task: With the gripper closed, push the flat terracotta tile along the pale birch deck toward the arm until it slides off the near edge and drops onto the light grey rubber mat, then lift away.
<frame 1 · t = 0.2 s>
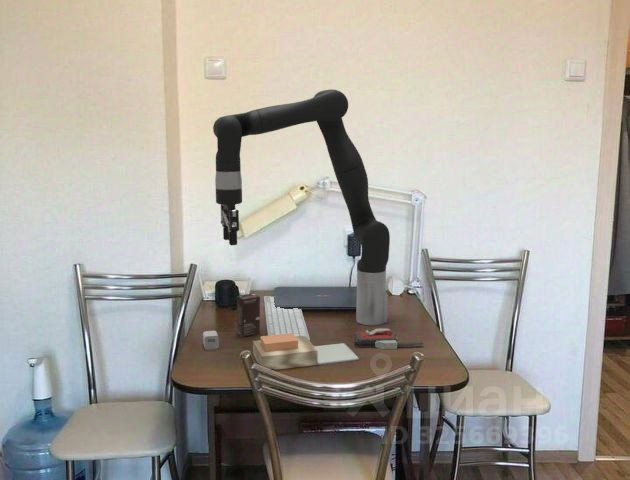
hand: (230, 242, 176), 29 cm above the table, fingers open, 8 cm apart
box: (248, 334, 184), on the table
mat: (331, 354, 168), on the table
deck: (284, 359, 164), on the table
usb wall charger: (210, 345, 175), on the table
tile: (279, 346, 163), point 4 cm above the table, touching deck
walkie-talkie: (386, 345, 176), on the table
keyboard: (284, 320, 198), on the table
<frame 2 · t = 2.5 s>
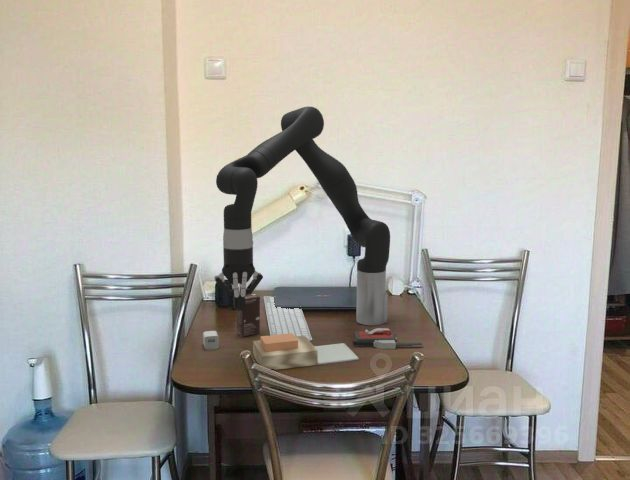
hand: (239, 309, 158), 15 cm above the table, fingers closed
nothing on the table moved.
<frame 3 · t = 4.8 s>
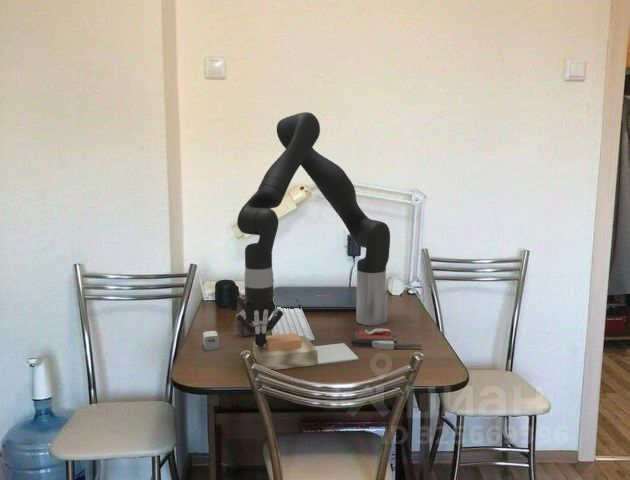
hand: (260, 345, 161), 5 cm above the table, fingers closed
tile: (282, 345, 163), point 4 cm above the table, touching gripper
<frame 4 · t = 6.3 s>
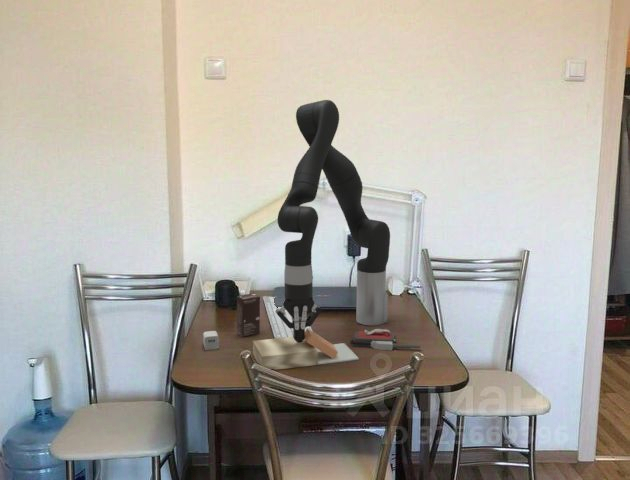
hand: (299, 341, 164), 5 cm above the table, fingers closed
tile: (317, 346, 165), point 3 cm above the table, tilted 36°, touching gripper, mat
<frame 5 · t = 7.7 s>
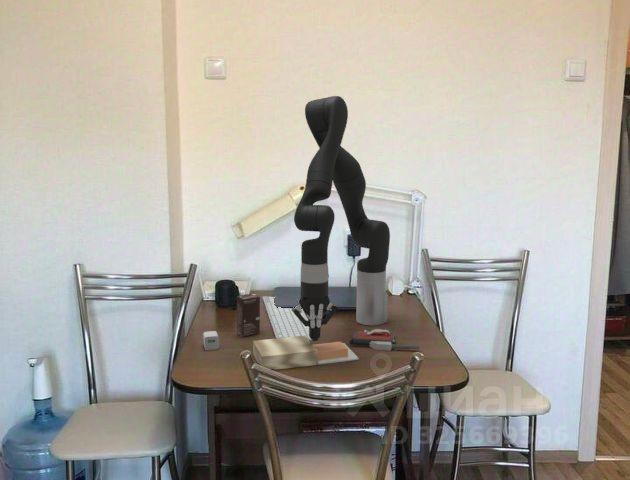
hand: (314, 339, 165), 5 cm above the table, fingers closed
tile: (328, 354, 166), resting on mat
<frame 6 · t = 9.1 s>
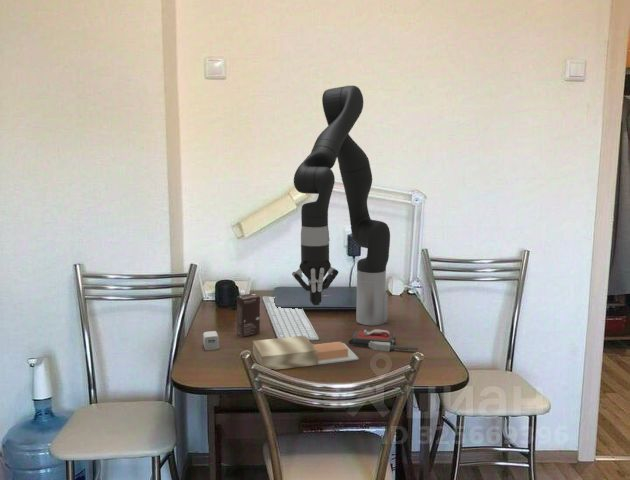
hand: (315, 304, 163), 15 cm above the table, fingers closed
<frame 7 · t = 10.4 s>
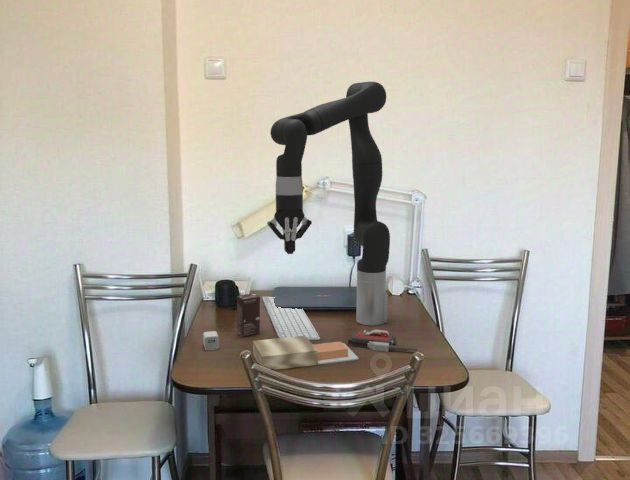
hand: (289, 253, 170), 27 cm above the table, fingers closed
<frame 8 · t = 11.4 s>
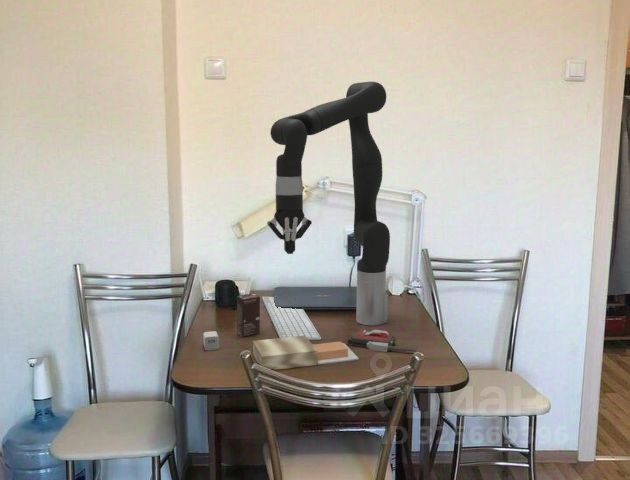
hand: (289, 253, 170), 27 cm above the table, fingers closed
at the end: tile inside the target area (1.6 cm from its centre), resting on mat; tile moved 14.3 cm from its start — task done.
